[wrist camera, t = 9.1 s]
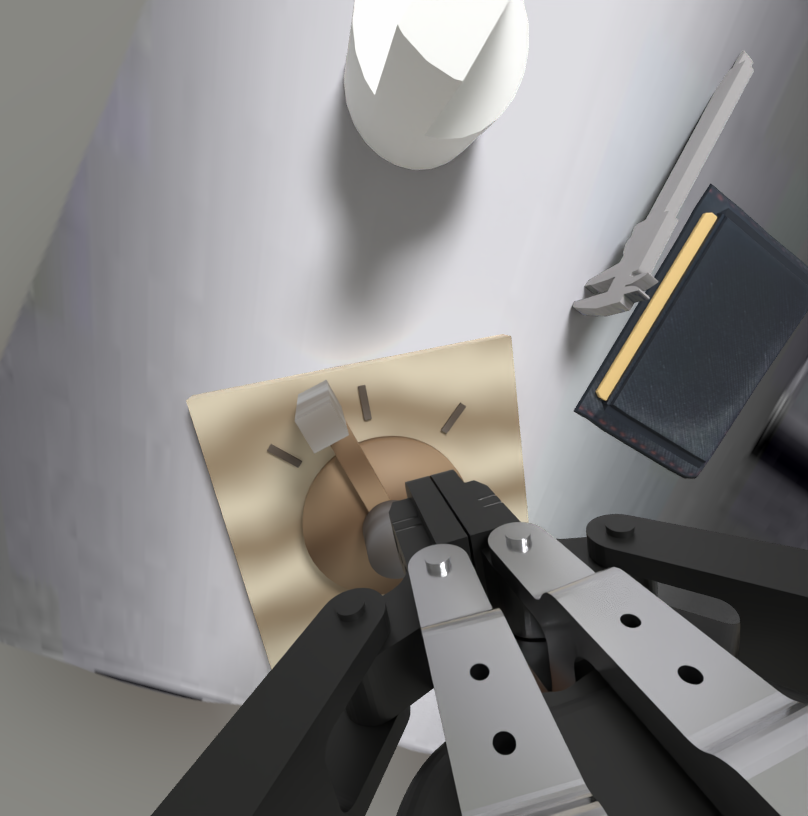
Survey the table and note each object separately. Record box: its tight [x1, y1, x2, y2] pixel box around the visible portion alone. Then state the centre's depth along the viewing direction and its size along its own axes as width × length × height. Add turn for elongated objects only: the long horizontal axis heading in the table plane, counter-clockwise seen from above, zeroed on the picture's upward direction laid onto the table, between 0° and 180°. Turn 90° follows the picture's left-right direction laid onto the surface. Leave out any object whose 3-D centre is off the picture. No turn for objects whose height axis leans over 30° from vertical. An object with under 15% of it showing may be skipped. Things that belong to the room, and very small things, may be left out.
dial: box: [295, 380, 464, 594], centre depth 28 cm, size 17×12×7 cm
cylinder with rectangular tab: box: [344, 0, 529, 170], centre depth 22 cm, size 9×9×12 cm
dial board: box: [186, 334, 529, 669], centre depth 33 cm, size 22×22×2 cm
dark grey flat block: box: [574, 184, 808, 478], centre depth 36 cm, size 20×2×15 cm
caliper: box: [573, 51, 754, 316], centre depth 29 cm, size 21×1×6 cm, turn 147°
